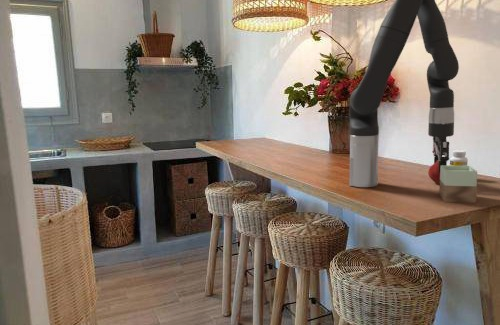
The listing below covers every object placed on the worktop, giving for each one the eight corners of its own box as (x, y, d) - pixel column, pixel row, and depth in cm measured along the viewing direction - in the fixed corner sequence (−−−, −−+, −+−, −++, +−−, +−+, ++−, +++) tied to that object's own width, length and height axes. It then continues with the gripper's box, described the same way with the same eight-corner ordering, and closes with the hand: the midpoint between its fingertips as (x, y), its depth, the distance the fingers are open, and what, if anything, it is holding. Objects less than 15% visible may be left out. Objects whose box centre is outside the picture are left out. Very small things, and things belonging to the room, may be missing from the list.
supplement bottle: (445, 178, 140) (447, 150, 138) (456, 176, 142) (458, 149, 140) (458, 181, 135) (460, 152, 133) (470, 179, 137) (471, 151, 135)
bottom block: (444, 202, 113) (445, 185, 112) (439, 194, 120) (440, 179, 120) (475, 203, 111) (477, 186, 110) (468, 195, 118) (469, 179, 117)
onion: (430, 180, 137) (431, 158, 136) (448, 182, 134) (450, 159, 132) (425, 184, 133) (426, 160, 131) (444, 186, 129) (445, 162, 128)
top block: (444, 185, 112) (445, 170, 111) (439, 179, 120) (440, 165, 119) (476, 186, 110) (477, 171, 109) (469, 179, 117) (470, 165, 116)
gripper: (425, 119, 137) (424, 165, 140) (432, 123, 123) (431, 174, 126) (449, 119, 135) (447, 165, 138) (459, 123, 121) (457, 174, 124)
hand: (439, 169), depth 132 cm, fingers open, 8 cm apart
